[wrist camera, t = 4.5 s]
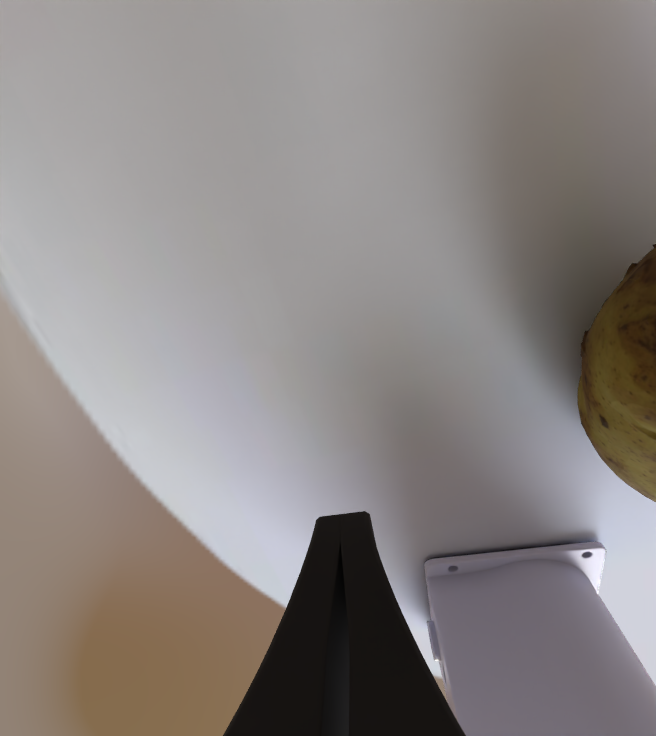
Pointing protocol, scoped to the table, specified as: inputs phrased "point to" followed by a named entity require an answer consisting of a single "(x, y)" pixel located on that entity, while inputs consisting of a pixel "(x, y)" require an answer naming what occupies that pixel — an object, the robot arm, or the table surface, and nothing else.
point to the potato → (624, 379)
